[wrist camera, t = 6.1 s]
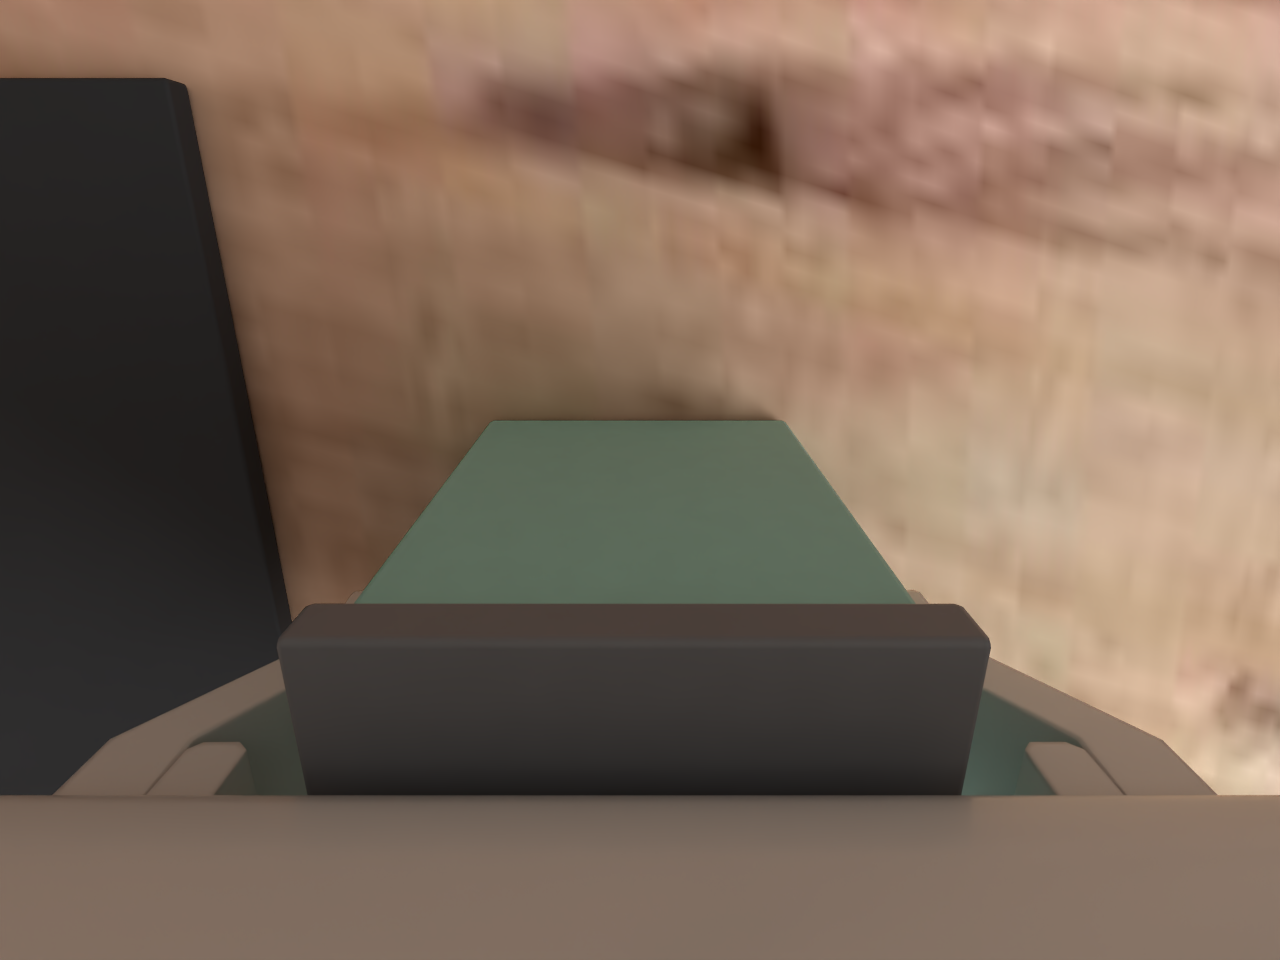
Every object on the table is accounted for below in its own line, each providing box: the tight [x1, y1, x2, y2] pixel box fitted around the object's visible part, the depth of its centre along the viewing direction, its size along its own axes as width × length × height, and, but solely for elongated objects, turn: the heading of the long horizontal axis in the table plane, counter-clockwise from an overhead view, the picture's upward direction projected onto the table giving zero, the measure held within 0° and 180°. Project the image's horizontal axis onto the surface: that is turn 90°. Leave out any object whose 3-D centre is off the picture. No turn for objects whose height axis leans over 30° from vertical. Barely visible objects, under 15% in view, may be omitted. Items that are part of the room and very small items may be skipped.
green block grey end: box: [277, 421, 991, 795], centre depth 9 cm, size 5×5×7 cm
